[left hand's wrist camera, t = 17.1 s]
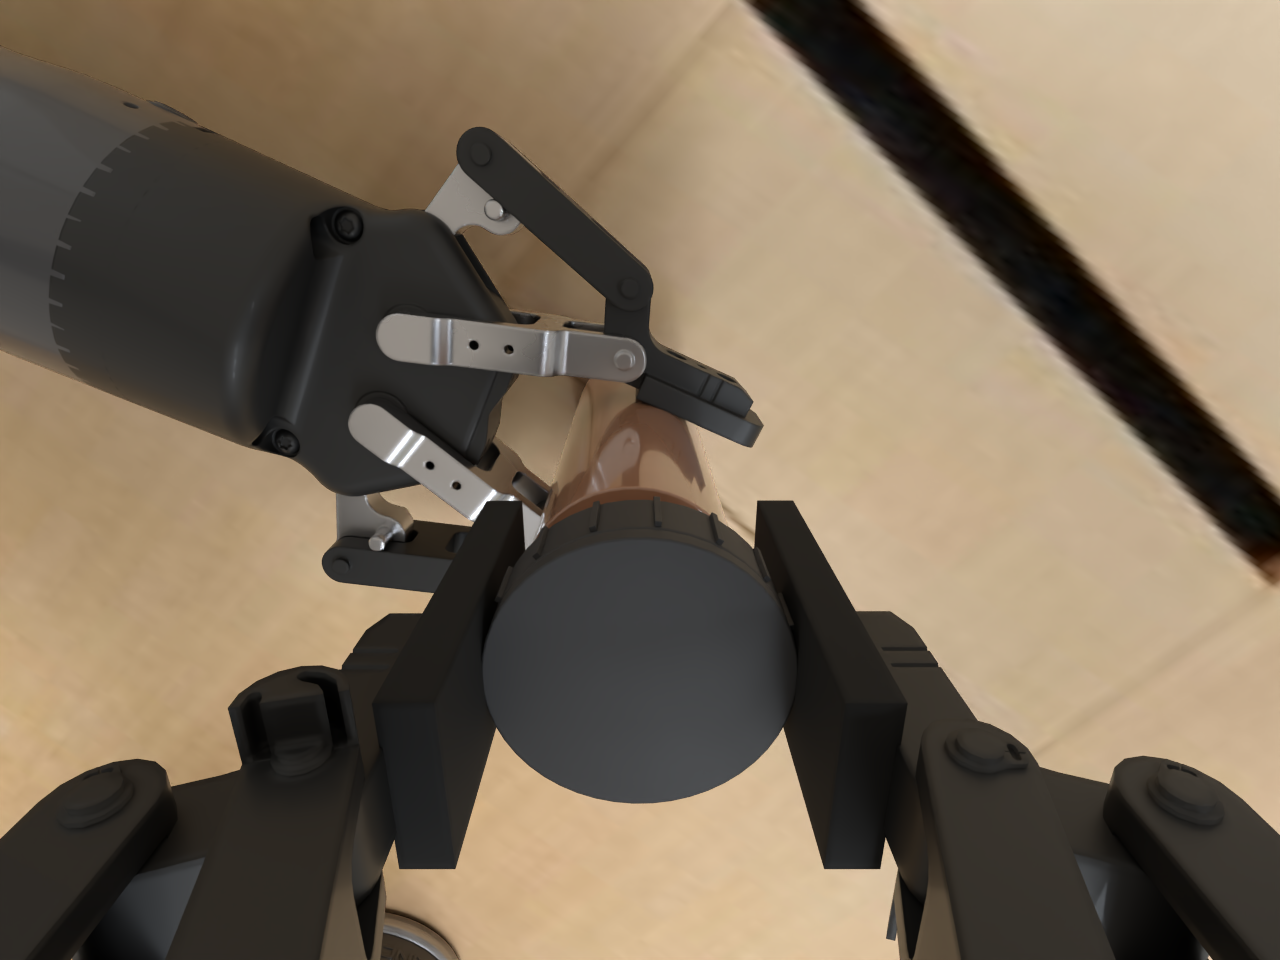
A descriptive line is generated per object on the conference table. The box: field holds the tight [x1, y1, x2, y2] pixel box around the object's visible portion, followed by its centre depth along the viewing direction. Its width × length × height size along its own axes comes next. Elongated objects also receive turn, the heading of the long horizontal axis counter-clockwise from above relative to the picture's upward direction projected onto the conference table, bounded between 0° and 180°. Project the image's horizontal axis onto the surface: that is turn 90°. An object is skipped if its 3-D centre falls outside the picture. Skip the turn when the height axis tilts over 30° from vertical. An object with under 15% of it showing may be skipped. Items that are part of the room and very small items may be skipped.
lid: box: [482, 496, 798, 803], centre depth 11 cm, size 5×5×2 cm
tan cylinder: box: [532, 379, 728, 543], centre depth 19 cm, size 4×4×15 cm
